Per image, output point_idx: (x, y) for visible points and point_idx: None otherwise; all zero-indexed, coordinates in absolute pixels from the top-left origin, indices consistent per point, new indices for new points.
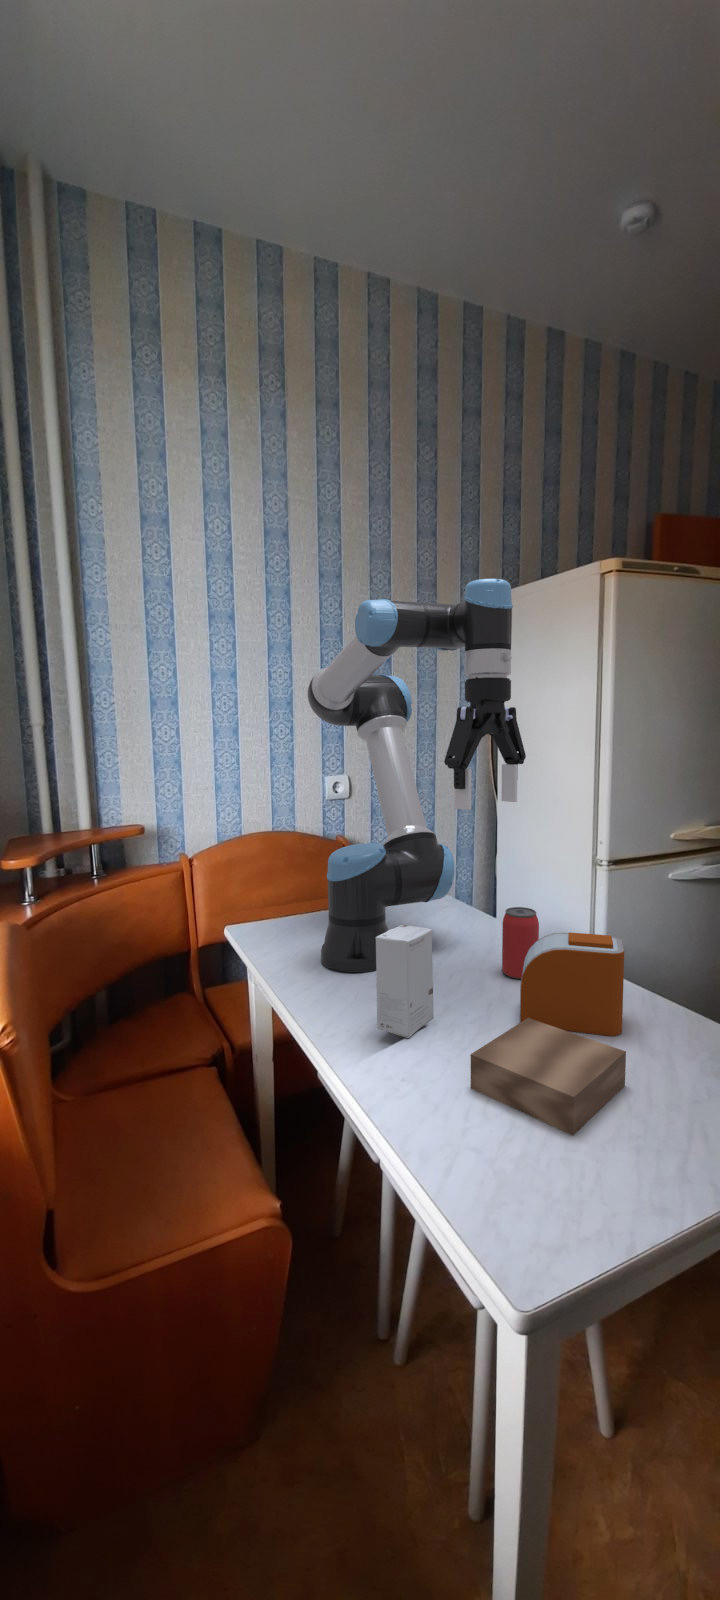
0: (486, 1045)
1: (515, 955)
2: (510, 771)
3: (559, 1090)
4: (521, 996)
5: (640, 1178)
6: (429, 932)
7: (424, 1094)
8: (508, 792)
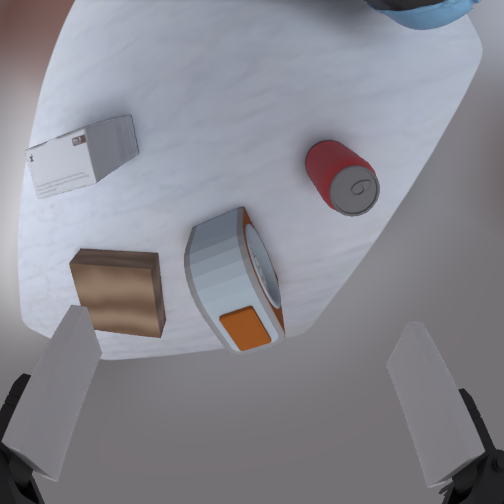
0: (86, 265)
1: (311, 176)
2: (431, 453)
3: None
4: (187, 243)
5: (98, 341)
6: (88, 185)
7: (53, 229)
8: (408, 373)
